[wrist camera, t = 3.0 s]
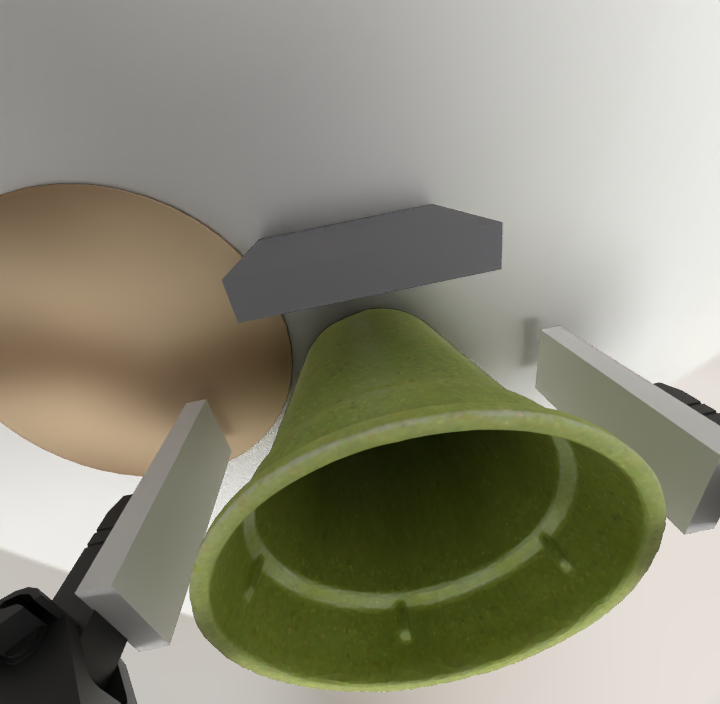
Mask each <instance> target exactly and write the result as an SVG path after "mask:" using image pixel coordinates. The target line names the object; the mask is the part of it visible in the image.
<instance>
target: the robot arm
mask: <svg viewBox="0 0 720 704" xmlns="http://www.w3.org/2000/svg"><path fill="white" fill-rule="evenodd" d="M535 388H536V389H537V390H538V391H539V392H540V393H541V394H542V395H543V396H544V397H545V398H546V399H547V400H548V401H549V402H550V403H551V404H552V405H553V406H554V407H555V408H556V409H557V410H558V411H562V412H565V413H568V414H571V415H574V416H577V417H579V418H582V419H584V420H587V421H589V422H592V423H594V424H596V425H598V426H600V427H602V428H603V429H605V430H607V431H608V432H610V433H612V434H613V435H615V436H616V437H617V438H619V439H620V440H621V441H623V442H624V443H625V444H627V445H628V446H629V447H630V448H631V449H633V450H634V451H635V452H636V453H637V454H639V455H640V456H641V457H642V458H643V459H644V460H645V461H646V463H647V464H648V465H649V466H650V467H651V469H652V470H653V471H654V473H655V474H656V476H657V478H658V480H659V483H660V485H661V488H662V492H663V495H664V499H665V505H666V517H667V518H668V519H669V520H670V521H671V522H672V523H673V524H674V525H675V526H676V527H677V528H678V529H679V530H680V531H681V532H682V533H683V534H690V533H695V532H699V531H703V530H709V529H713V528H714V527H715V525H716V524H717V522H718V520H719V518H720V413H716V410H714V409H712V408H710V407H708V406H707V405H705V404H701V403H700V401H699V400H697V399H695V398H694V397H692V396H690V395H688V394H687V393H685V392H683V391H682V390H679V389H676V388H673V387H671V386H668V385H665V384H662V383H655V384H652V383H651V382H649V381H648V380H646V379H644V378H643V377H641V376H640V375H638V374H636V373H635V372H633V371H632V370H630V369H628V368H627V367H625V366H624V365H622V364H620V363H619V362H617V361H616V360H614V359H612V358H611V357H609V356H608V355H606V354H604V353H603V352H601V351H600V350H598V349H596V348H595V347H593V346H592V345H590V344H588V343H587V342H585V341H584V340H582V339H580V338H579V337H577V336H576V335H574V334H572V333H571V332H569V331H568V330H566V329H564V328H563V327H561V326H556V327H551V328H546V329H541V330H540V341H539V352H538V364H537V375H536V386H535ZM231 452H232V451H231V449H230V447H229V445H228V443H227V441H226V439H225V437H224V435H223V433H222V431H221V428H220V426H219V424H218V422H217V420H216V418H215V416H214V414H213V412H212V410H211V408H210V406H209V404H208V402H207V400H206V399H204V400H199V401H194V402H190V403H186V405H185V406H184V408H183V410H182V411H181V413H180V415H179V417H178V418H177V420H176V422H175V423H174V425H173V427H172V428H171V430H170V432H169V434H168V435H167V437H166V439H165V440H164V442H163V444H162V446H161V447H160V449H159V451H158V452H157V454H156V456H155V457H154V459H153V461H152V463H151V464H150V466H149V468H148V469H147V471H146V473H145V474H144V476H143V478H142V480H141V481H140V483H139V485H138V486H137V488H136V490H135V491H134V493H133V494H131V495H126V496H123V497H122V498H121V499H120V500H119V501H118V502H117V504H116V505H115V506H114V507H113V508H112V509H111V510H110V511H109V512H108V513H107V514H106V516H105V518H104V519H103V521H102V522H101V524H100V525H99V527H98V529H97V533H94V535H93V537H92V538H91V540H90V541H89V543H88V544H87V545H88V547H87V548H85V549H84V551H83V552H82V554H81V556H80V557H79V559H78V560H77V562H76V564H75V565H74V567H73V568H72V570H71V571H70V573H69V575H68V576H67V578H66V580H65V581H64V583H63V584H62V586H61V587H60V589H59V591H58V592H57V594H56V595H55V597H54V598H53V600H51V599H49V598H48V597H47V596H46V595H45V594H44V593H42V592H41V591H40V590H39V589H37V588H31V587H27V588H24V589H21V590H18V591H15V592H13V593H11V594H10V595H8V596H6V597H4V598H3V599H1V600H0V704H137V701H136V698H135V695H134V691H133V688H132V685H131V681H130V678H129V674H128V671H127V668H126V665H125V664H124V662H123V661H122V659H121V658H120V657H121V654H122V652H123V650H124V647H125V645H126V642H127V641H128V642H129V643H130V644H131V645H132V646H133V647H134V648H135V649H137V650H138V651H139V652H140V651H145V650H149V649H154V648H159V647H163V646H168V645H170V642H171V639H172V636H173V633H174V630H175V627H176V623H177V620H178V617H179V614H180V611H181V608H182V605H183V602H184V598H185V595H186V592H187V589H188V586H189V583H190V578H191V573H192V569H193V565H194V562H195V558H196V556H197V554H198V551H199V549H200V546H201V544H202V542H203V539H204V536H205V533H206V530H207V527H208V524H209V520H210V517H211V514H212V511H213V508H214V505H215V502H216V499H217V496H218V492H219V489H220V486H221V483H222V480H223V477H224V474H225V471H226V467H227V464H228V461H229V458H230V455H231Z"/></svg>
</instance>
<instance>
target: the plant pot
mask: <svg viewBox="0 0 720 704" xmlns="http://www.w3.org/2000/svg"><path fill="white" fill-rule="evenodd" d="M665 520H666V505H665V499H664V495H663V492H662V488H661V485H660V483H659V480H658V478H657V476H656V474H655V473H654V471H653V470H652V469H651V467H650V466H649V465H648V464H647V463H646V461H645V460H644V459H643V458H642V457H641V456H640V455H639V454H637V453H636V452H635V451H634V450H633V449H631V448H630V447H629V446H628V445H627V444H625V443H624V442H623V441H621V440H620V439H619V438H617V437H616V436H615V435H613V434H612V433H610V432H608V431H607V430H605V429H603V428H602V427H600V426H598V425H596V424H594V423H592V422H589V421H587V420H584V419H582V418H579V417H577V416H574V415H571V414H568V413H565V412H562V411H558V410H554V409H549V408H544V407H543V406H541V405H539V404H537V403H536V402H534V401H532V400H530V399H528V398H526V397H524V396H521V395H519V394H517V393H514V392H511V391H508V390H506V389H505V388H504V387H502V386H501V385H500V384H499V383H497V382H496V381H495V380H494V379H492V378H491V377H490V376H489V375H487V374H486V373H485V372H484V371H482V370H481V369H480V368H479V367H477V366H476V365H475V364H474V363H473V362H471V361H470V360H469V359H468V358H467V357H465V356H464V355H463V354H462V353H461V352H459V351H458V350H457V349H456V348H455V347H453V346H452V345H451V344H450V343H449V342H448V341H446V340H445V339H444V338H443V337H442V336H440V335H439V334H438V333H437V332H436V331H435V330H433V329H432V328H431V327H430V326H429V325H427V324H426V323H425V322H423V321H422V320H420V319H419V318H417V317H415V316H413V315H411V314H408V313H406V312H403V311H399V310H393V309H383V308H379V309H369V310H364V311H362V312H359V313H357V314H354V315H351V316H349V317H347V318H345V319H343V320H340V321H338V322H336V323H334V324H332V325H330V326H329V327H327V328H326V329H325V330H324V331H323V332H322V333H321V334H320V335H319V336H318V338H317V339H316V340H315V341H314V343H313V344H312V346H311V347H310V349H309V351H308V353H307V356H306V359H305V362H304V364H303V367H302V369H301V372H300V375H299V377H298V380H297V383H296V386H295V389H294V391H293V394H292V397H291V399H290V402H289V404H288V407H287V410H286V412H285V415H284V417H283V420H282V422H281V425H280V428H279V430H278V433H277V435H276V438H275V441H274V443H273V446H272V448H271V451H270V453H269V454H268V455H267V456H266V458H265V459H264V460H263V461H262V463H261V464H260V466H259V467H258V469H257V470H256V472H255V473H254V475H253V477H252V479H251V480H250V481H249V482H248V483H247V484H246V485H245V486H244V487H243V488H242V489H241V490H240V491H239V492H238V493H237V494H236V495H235V496H234V497H233V498H232V499H231V500H230V501H229V502H228V503H227V504H226V506H225V507H224V508H223V509H222V511H221V512H220V513H219V514H218V515H217V517H216V518H215V520H214V521H213V523H212V525H211V526H210V528H209V529H208V531H207V533H206V535H205V537H204V539H203V542H202V544H201V546H200V549H199V551H198V554H197V556H196V558H195V562H194V565H193V569H192V573H191V578H190V587H189V593H190V601H191V605H192V612H193V615H194V618H195V621H196V624H197V626H198V628H199V629H200V631H201V632H202V634H203V635H204V637H205V638H206V639H207V640H208V641H209V642H210V643H211V644H212V645H213V646H214V647H215V648H217V649H218V650H219V651H220V652H221V653H222V654H223V655H224V656H225V657H226V658H228V659H230V660H231V661H233V662H235V663H237V664H238V665H240V666H241V667H243V668H246V669H248V670H251V671H252V672H254V673H256V674H259V675H261V676H265V677H267V678H270V679H273V680H277V681H282V682H285V683H289V684H295V685H299V686H303V687H310V688H315V689H322V690H333V691H360V692H364V691H365V692H366V691H368V692H379V691H380V692H382V691H386V692H389V691H401V690H406V689H416V688H420V687H425V686H433V685H437V684H442V683H449V682H453V681H457V680H461V679H465V678H468V677H471V676H474V675H479V674H484V673H488V672H491V671H494V670H498V669H499V668H502V667H505V666H508V665H511V664H514V663H516V662H519V661H522V660H524V659H526V658H528V657H531V656H533V655H535V654H538V653H540V652H541V651H543V650H545V649H547V648H550V647H552V646H554V645H556V644H558V643H560V642H562V641H564V640H566V639H567V638H569V637H571V636H572V635H574V634H576V633H578V632H579V631H581V630H583V629H585V628H587V627H588V626H590V625H591V624H593V623H594V622H596V621H597V620H599V619H600V618H601V617H602V616H603V615H605V614H607V613H608V612H609V611H610V610H611V609H612V608H614V607H615V606H616V605H617V604H619V603H620V602H621V601H622V600H623V599H624V598H625V597H626V596H627V595H628V594H629V593H630V592H631V591H632V590H633V589H634V588H635V586H636V585H637V584H638V582H639V581H640V580H641V578H642V577H643V576H644V574H645V573H646V572H647V570H648V569H649V567H650V565H651V563H652V561H653V559H654V557H655V555H656V553H657V552H658V550H659V547H660V544H661V540H662V535H663V532H664V530H665V525H666V523H665Z"/></svg>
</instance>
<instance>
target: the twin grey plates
mask: <svg viewBox="0 0 720 704" xmlns="http://www.w3.org/2000/svg"><path fill="white" fill-rule="evenodd" d="M501 260H502V222H499V221H495V220H491V219H487V218H484V217H480V216H476V215H472V214H468V213H464V212H460V211H457V210H453V209H449V208H445V207H441V206H437V205H433V204H431V205H426V206H421V207H416V208H411V209H406V210H401V211H397V212H392V213H387V214H382V215H377V216H372V217H367V218H362V219H357V220H352V221H347V222H342V223H338V224H333V225H328V226H323V227H318V228H313V229H308V230H303V231H298V232H293V233H288V234H283V235H279V236H274V237H269V238H264V239H259V240H258V241H257V243H256V244H255V245H254V246H253V247H252V248H251V249H250V250H249V251H248V252H247V253H246V254H245V255H244V256H243V257H242V259H241V260H240V261H239V262H238V263H237V264H236V265H235V266H234V267H233V268H232V269H231V270H230V271H229V272H228V273H227V274H226V276H225V277H224V278H223V279H222V283H223V285H224V288H225V290H226V293H227V296H228V298H229V301H230V303H231V306H232V309H233V311H234V314H235V316H236V319H237V322H238V323H242V322H246V321H251V320H256V319H261V318H266V317H271V316H276V315H281V314H285V313H290V312H295V311H300V310H305V309H310V308H315V307H319V306H324V305H329V304H334V303H339V302H344V301H349V300H353V299H358V298H363V297H368V296H373V295H378V294H383V293H387V292H392V291H397V290H402V289H407V288H412V287H417V286H421V285H426V284H431V283H436V282H441V281H446V280H451V279H455V278H460V277H465V276H470V275H475V274H480V273H485V272H489V271H494V270H499V269H501Z"/></svg>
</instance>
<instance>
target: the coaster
mask: <svg viewBox="0 0 720 704" xmlns="http://www.w3.org/2000/svg"><path fill="white" fill-rule="evenodd" d="M241 259H242V255H241V254H240V253H239V252H238V251H236V250H235V249H234V248H233V247H232V246H231V245H229V244H228V243H227V242H226V241H225V240H224V239H223V238H221V237H220V236H219V235H217V234H216V233H215V232H213V231H212V230H210V229H209V228H207V227H206V226H204V225H203V224H202V223H200V222H199V221H197V220H195V219H193V218H192V217H190V216H188V215H186V214H184V213H182V212H180V211H179V210H177V209H175V208H173V207H171V206H168V205H166V204H163V203H161V202H158V201H156V200H153V199H151V198H148V197H146V196H142V195H139V194H135V193H131V192H128V191H124V190H120V189H116V188H110V187H103V186H96V185H89V184H51V185H43V186H35V187H27V188H23V189H19V190H16V191H12V192H9V193H5V194H2V195H0V422H1V423H3V424H4V425H5V426H7V427H8V428H9V429H11V430H12V431H14V432H15V433H17V434H18V435H20V436H21V437H23V438H24V439H26V440H28V441H30V442H31V443H33V444H35V445H37V446H39V447H40V448H42V449H44V450H46V451H49V452H51V453H53V454H55V455H57V456H60V457H62V458H64V459H67V460H70V461H73V462H75V463H78V464H81V465H84V466H88V467H91V468H95V469H99V470H102V471H108V472H113V473H118V474H125V475H134V476H144V474H145V473H146V471H147V469H148V468H149V466H150V464H151V463H152V461H153V459H154V457H155V456H156V454H157V452H158V451H159V449H160V447H161V446H162V444H163V442H164V440H165V439H166V437H167V435H168V434H169V432H170V430H171V428H172V427H173V425H174V423H175V422H176V420H177V418H178V417H179V415H180V413H181V411H182V410H183V408H184V406H185V405H186V403H190V402H194V401H199V400H204V399H206V400H207V402H208V404H209V406H210V408H211V410H212V412H213V414H214V416H215V418H216V420H217V422H218V424H219V426H220V428H221V431H222V433H223V435H224V437H225V439H226V441H227V443H228V445H229V447H230V449H231V451H232V452H231V455H230V458H229V461H230V460H232V459H234V458H236V457H238V456H240V455H241V454H243V453H244V452H245V451H247V450H248V449H250V448H251V447H253V446H254V445H255V444H256V443H257V442H258V441H259V440H260V439H262V438H263V437H264V436H265V434H266V433H267V432H268V431H269V430H270V428H271V427H272V426H273V425H274V423H275V421H276V420H277V418H278V416H279V415H280V413H281V411H282V409H283V406H284V404H285V401H286V399H287V395H288V391H289V387H290V382H291V372H292V354H291V344H290V340H289V335H288V331H287V327H286V324H285V322H284V319H283V316H282V314H281V315H276V316H271V317H266V318H261V319H256V320H251V321H246V322H242V323H238V322H237V319H236V316H235V314H234V311H233V309H232V306H231V303H230V301H229V298H228V296H227V293H226V290H225V288H224V285H223V283H222V279H223V278H224V277H225V276H226V274H227V273H228V272H229V271H230V270H231V269H232V268H233V267H234V266H235V265H236V264H237V263H238V262H239V261H240V260H241Z"/></svg>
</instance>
